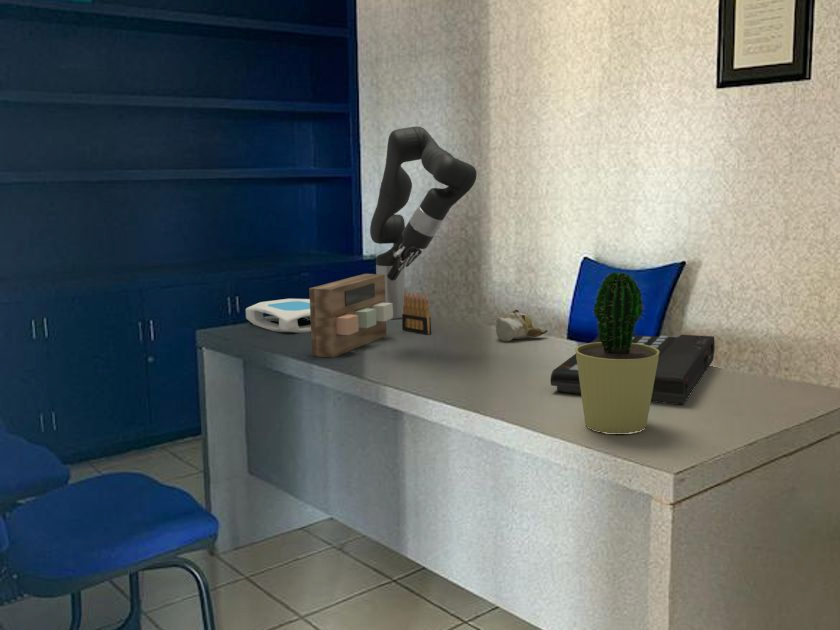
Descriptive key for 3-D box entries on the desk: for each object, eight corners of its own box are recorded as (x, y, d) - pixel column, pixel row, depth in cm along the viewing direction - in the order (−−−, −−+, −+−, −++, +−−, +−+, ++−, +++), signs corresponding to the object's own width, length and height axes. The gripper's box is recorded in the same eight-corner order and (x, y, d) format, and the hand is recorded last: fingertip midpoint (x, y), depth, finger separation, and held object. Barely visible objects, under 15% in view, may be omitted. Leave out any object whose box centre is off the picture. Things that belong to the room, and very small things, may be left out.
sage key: (349, 326, 236) (348, 311, 235) (359, 323, 240) (358, 307, 240) (367, 328, 233) (366, 312, 233) (376, 324, 238) (375, 308, 237)
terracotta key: (330, 333, 227) (329, 317, 226) (340, 329, 232) (340, 313, 231) (348, 335, 224) (347, 318, 224) (358, 331, 229) (358, 315, 228)
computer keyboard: (603, 352, 227) (603, 327, 225) (714, 361, 214) (715, 334, 213) (550, 395, 187) (550, 365, 186) (682, 409, 175) (683, 377, 174)
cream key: (367, 320, 245) (366, 305, 244) (376, 317, 249) (375, 302, 249) (384, 321, 242) (383, 306, 241) (392, 318, 247) (392, 303, 246)
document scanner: (287, 336, 256) (286, 315, 255) (245, 322, 278) (244, 303, 277) (347, 326, 268) (346, 306, 267) (302, 314, 290) (301, 296, 289)
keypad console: (312, 355, 228) (309, 288, 224) (366, 334, 254) (364, 273, 251) (334, 357, 225) (331, 289, 222) (387, 335, 251) (385, 274, 248)
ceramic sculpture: (485, 308, 242) (525, 305, 251) (484, 339, 244) (523, 335, 252) (510, 314, 234) (550, 310, 242) (509, 345, 235) (548, 341, 244)
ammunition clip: (431, 334, 253) (430, 293, 251) (427, 335, 252) (426, 294, 249) (406, 329, 260) (405, 290, 258) (401, 330, 259) (400, 291, 257)
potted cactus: (557, 427, 163) (559, 270, 158) (603, 409, 174) (606, 262, 169) (628, 444, 153) (632, 277, 147) (672, 425, 163) (677, 267, 158)
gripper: (424, 215, 228) (393, 266, 235) (399, 219, 216) (367, 273, 224) (445, 232, 225) (413, 283, 233) (421, 238, 214) (387, 291, 222)
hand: (390, 278), depth 228 cm, fingers closed
